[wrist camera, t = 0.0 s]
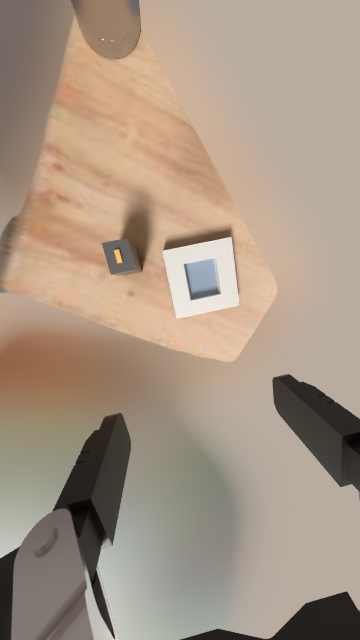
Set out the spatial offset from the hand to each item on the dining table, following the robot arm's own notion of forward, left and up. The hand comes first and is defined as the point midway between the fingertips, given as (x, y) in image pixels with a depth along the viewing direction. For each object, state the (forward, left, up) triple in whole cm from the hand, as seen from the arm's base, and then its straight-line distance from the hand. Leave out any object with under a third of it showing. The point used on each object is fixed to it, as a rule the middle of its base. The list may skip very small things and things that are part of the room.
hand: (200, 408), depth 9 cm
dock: (-5, +7, -29) cm, 30 cm away
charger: (-11, -6, -29) cm, 32 cm away
